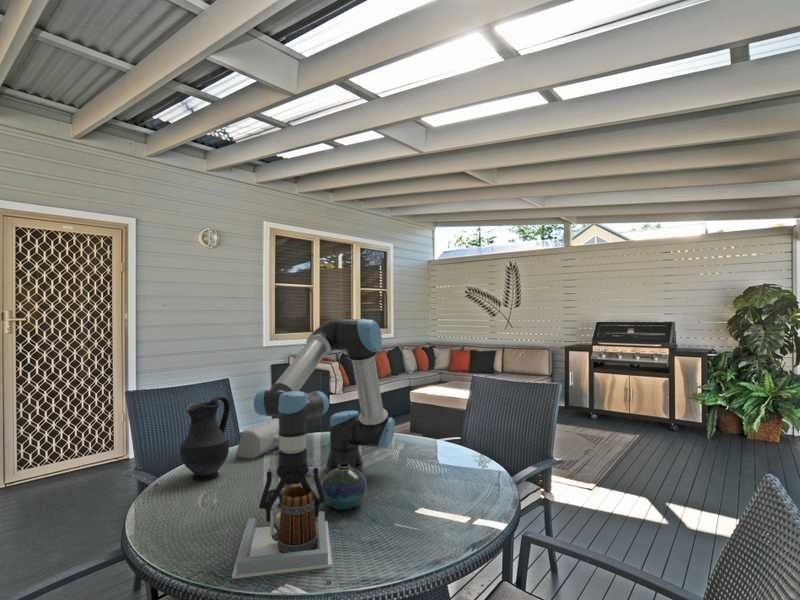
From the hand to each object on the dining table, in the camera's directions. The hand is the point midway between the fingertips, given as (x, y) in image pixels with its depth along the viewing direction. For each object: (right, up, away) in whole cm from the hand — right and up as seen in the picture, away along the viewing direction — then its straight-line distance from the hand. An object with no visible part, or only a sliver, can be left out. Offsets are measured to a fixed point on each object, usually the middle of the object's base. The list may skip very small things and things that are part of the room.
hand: (292, 530), depth 125 cm
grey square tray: (-2, -5, 0) cm, 5 cm away
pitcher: (-46, -6, +55) cm, 72 cm away
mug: (-1, -4, 0) cm, 4 cm away
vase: (+11, -5, +27) cm, 30 cm away
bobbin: (-5, -5, +18) cm, 19 cm away
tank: (-32, -7, +86) cm, 92 cm away
